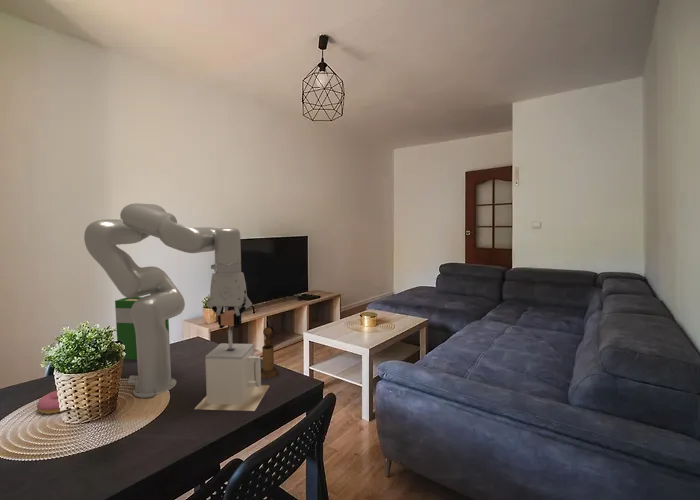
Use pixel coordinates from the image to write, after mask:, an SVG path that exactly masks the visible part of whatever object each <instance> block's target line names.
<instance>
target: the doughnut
mask: <svg viewBox="0 0 700 500" xmlns="http://www.w3.org/2000/svg"><path fill="white" fill-rule="evenodd" d="M36 408H37V411H39V412H40V413H41V414H44V413H45V414H46V415H52V414H51V413H55V414H58V413H57V412H60V408H59V402H58V396H57V390H54V391H51V392H49V393H46V394H45V395H44V396H42V397H41V398H39V400H38V401H37V404H36ZM60 413H61V412H60Z"/></svg>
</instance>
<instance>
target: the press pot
mask: <svg viewBox="0 0 700 500" xmlns="http://www.w3.org/2000/svg"><path fill="white" fill-rule="evenodd" d="M261 365H262V364H261V356H259V355H258V356H257V355H255V345H254V343H233V351H229V344H228V343H226V342H225V343H224V342H223V343H219V344H218V345H217V346H216V347H215V348H213V349H212V350H211V351H210V352H209V353H207V354H206V355H205V382H206V383H205V384H206V386H205V388H206V396H207V404H222V405H243V404H244V403H245V401H246V400H247V399H248V397H249V396H250V394H251V393H252V391H253V390H254V388H255V387H260V386H261V385H262V378H261V369H262V366H261Z"/></svg>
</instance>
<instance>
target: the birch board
mask: <svg viewBox="0 0 700 500" xmlns="http://www.w3.org/2000/svg"><path fill="white" fill-rule="evenodd" d="M270 386H271V385H269V384H261V386H260V387H255V388H254V390H253V391H252V393H251V394H250V396H249V397H248V399H247V400H246V401H245V403H244V404H243V405H222V404H207V395H206V396H204V398H203V399H202V400H201V401H200V402H199V403H198V404H197V405H196V406H195V408H194V410H205V411H206V410H207V411H208V410H209V411H210V410H211V411H240V412H241V411H244V412H255V411H256V410H257V408H258V407H259V406H260V405H259V404H260V403H261V401H262V399H263V398H264V396H265V395H266V393H267V391H268V390H269V388H270Z"/></svg>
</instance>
